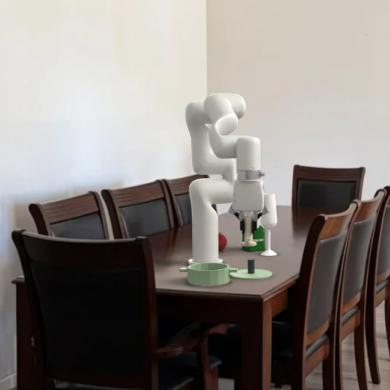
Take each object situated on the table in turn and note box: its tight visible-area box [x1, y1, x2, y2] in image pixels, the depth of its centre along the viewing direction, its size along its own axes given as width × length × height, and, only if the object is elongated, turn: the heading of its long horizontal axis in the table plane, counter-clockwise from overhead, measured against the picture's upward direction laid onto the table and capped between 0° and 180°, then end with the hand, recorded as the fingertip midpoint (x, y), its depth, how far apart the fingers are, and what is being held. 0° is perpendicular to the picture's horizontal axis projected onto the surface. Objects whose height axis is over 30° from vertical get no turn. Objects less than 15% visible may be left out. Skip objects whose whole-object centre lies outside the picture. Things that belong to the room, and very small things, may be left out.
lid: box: [230, 257, 273, 281], centre depth 268 cm, size 14×14×6 cm
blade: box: [240, 215, 256, 247], centre depth 251 cm, size 8×5×10 cm, turn 0°
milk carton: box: [241, 211, 266, 252], centre depth 319 cm, size 9×9×20 cm
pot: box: [179, 262, 239, 287], centre depth 258 cm, size 13×19×6 cm
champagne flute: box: [260, 192, 278, 257], centre depth 309 cm, size 7×7×24 cm
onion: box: [218, 231, 228, 252], centre depth 315 cm, size 6×6×8 cm
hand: (248, 232), depth 251 cm, fingers closed on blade, 2 cm apart
